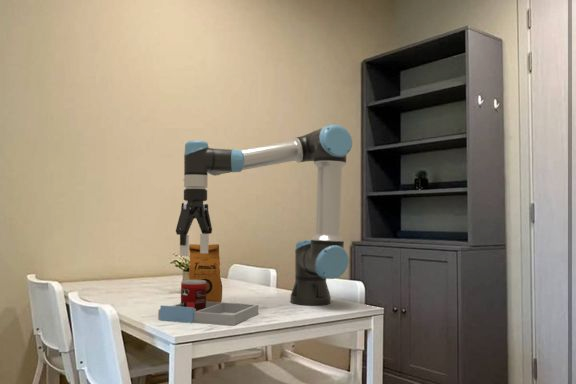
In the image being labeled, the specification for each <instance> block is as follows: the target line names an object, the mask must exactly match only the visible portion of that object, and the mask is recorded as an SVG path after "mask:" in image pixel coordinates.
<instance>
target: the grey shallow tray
mask: <svg viewBox="0 0 576 384" xmlns="http://www.w3.org/2000/svg"><path fill="white" fill-rule="evenodd" d="M195 311H196V309H194V308H193V307H181V302H180V303H178V304H174V305H160V308H159V309H158V317H157V318H158V320H159V321H163V320H166V321H165V322H176V321H180V322H179V323H188V322H190V324H193V323H194V324H195V323H197V324H207V325H209V324H210V325H220V326H221V325H222V326H232V327H233V326H236V325H238V324H241V323H242V322H244V321H247V320H248V319H251V318H253V317H255V316H258V315H259V304H254V303H253V304H251V303H250V304H249V303H238V302H237V303H236V302H235V303H234V302H223V301H221V302H207V301H206V308H205V309H202V310H199V311H196V312H195Z"/></svg>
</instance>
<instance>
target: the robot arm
mask: <svg viewBox="0 0 576 384" xmlns="http://www.w3.org/2000/svg"><path fill="white" fill-rule="evenodd" d="M184 144H185V145H184V155H183V157H184V159H183V161H184V163H183V167H184V169H183V171H184V173H183V176H184V177H183V187H184V188H185V189H184V190H183V200H184V201H186V202H182V203H181V205H180V206H181V209H180V213H179V217H178V220H177V224H176V228H175V233H176V235H179V256H180V257H189V256H190V251H189V245H190V235H189V234H188V233H189V231H190V230H191V229H190V228H191V226H192V223H193V222H194V219H196V222H197V224H198V226H199V229H200V232H201V233H200V234H199V235H200V236H199V239H200V241H199V242H200V243H199V245H200V253H208V245H210V243H209V235H211V234H212V232H213V226H212V223H211V218H210V213H209V204H207V203H204V202H206V201H208V190H207V188H208V176H209V175H211V176H215V177H216V176H220V175H223V174H224V175H225V174H229V173H241V172H242V171H245V170H251V169H255V168H261V167H267V166H273V165H278V164H279V165H280V164H283V163H289V162H296V163H304V162H313V164H314V165H315V166H316V167H317V175H316V176H317V183H316V209H315V211H316V214H315V234H314V235H313V237H312V238H311V239H309V240H301V241H300V240H299V241H297V242H296V244H295V250H294V253H295V256H294V257H295V262H294V263H295V265H294V266H295V267H294V268H295V271H294V272H295V275H294V276H295V277H294V279H295V281H294V284H293V288H292V290H291V294H290V297H289V298H290V299H289V300H290V303H291V302H292V304H294V303H295V305H301V304H302V306H323V304H324V305H328V304H331V303H332V302H331V301H332V300H331V294H330V291H329V287H328V283H327V279H328V280H333V279H338V278H340V277H341V276H343V274H344V273H345V272H346V271H347V269H348V267H349V260H350V259H349V255H348V253H347V251H346V250H345V248H344V242H345V239H343V238H342V236H341V235H340V234H341V229H340V228H341V203H342V202H341V200H342V170H343V168H344V167H345V166H346V165H347V155H348V154H349V153H350V151H351V150H352V146H353V139H352V136H351V133H350V132H349V131H348V130H347V129H346V128H345V127H344V126H342V125H339V124H331V125H330V124H329V125H325V126H323V127H322V128H319V129H317V130H313V131H312V132H309V133H306V134H304V135H301V136H295V137H293V138H292V139H291V140H289V141H283V142H277V143H269V144H266V145H259V146H254V147H248V148H247V147H246V148H241V149H234V148H233V149H229V148H227V149H226V148H212V147H209V143H208V142H207V141H204V140H189V141H187V142H185V143H184ZM208 174H209V175H208ZM330 302H331V303H330Z"/></svg>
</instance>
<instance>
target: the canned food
mask: <svg viewBox="0 0 576 384" xmlns="http://www.w3.org/2000/svg"><path fill="white" fill-rule="evenodd" d="M180 303H181V307H193V308H194V309H196V311H199V310H202V309H205V308H206V281H205V280H189V279H185V280H181V282H180ZM196 311H195V312H196Z"/></svg>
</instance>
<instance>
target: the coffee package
mask: <svg viewBox="0 0 576 384" xmlns="http://www.w3.org/2000/svg"><path fill="white" fill-rule="evenodd" d="M188 257H189V270H188V271H189V272H188V280H205V281H206V301H207V302H223V300H222V299H223V283H222V278H221V267H220V266H221V262H220V259H221V257H220V244H219V243H218V244H208V253H200V244H196V243H195V244H193V243H189V256H188Z"/></svg>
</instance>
